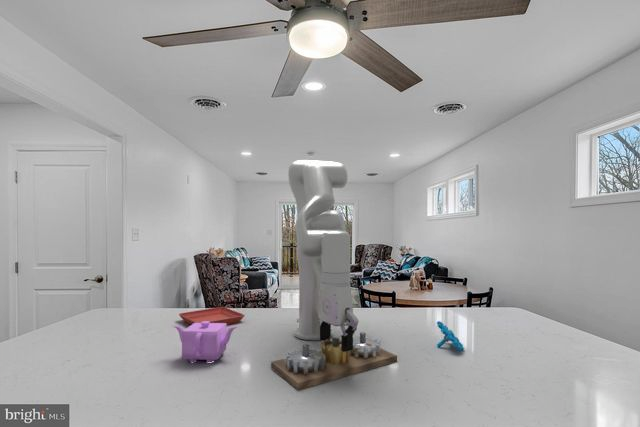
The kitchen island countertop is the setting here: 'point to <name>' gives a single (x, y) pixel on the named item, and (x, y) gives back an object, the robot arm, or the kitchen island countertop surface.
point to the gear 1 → (305, 360)
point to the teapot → (204, 340)
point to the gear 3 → (448, 337)
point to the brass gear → (334, 352)
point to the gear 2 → (365, 346)
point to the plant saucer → (212, 316)
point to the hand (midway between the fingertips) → (335, 344)
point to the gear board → (332, 368)
